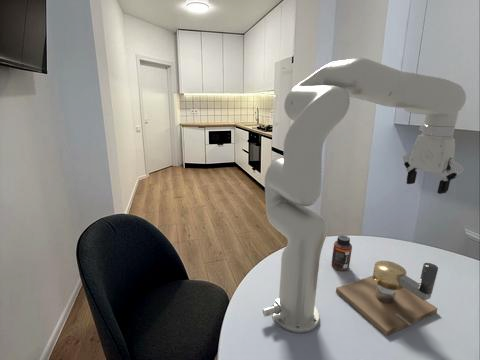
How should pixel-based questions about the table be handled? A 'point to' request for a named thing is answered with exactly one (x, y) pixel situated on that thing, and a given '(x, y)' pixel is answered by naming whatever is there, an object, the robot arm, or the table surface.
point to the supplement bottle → (341, 253)
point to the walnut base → (385, 306)
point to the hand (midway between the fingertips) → (425, 188)
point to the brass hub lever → (405, 278)
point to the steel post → (385, 294)
